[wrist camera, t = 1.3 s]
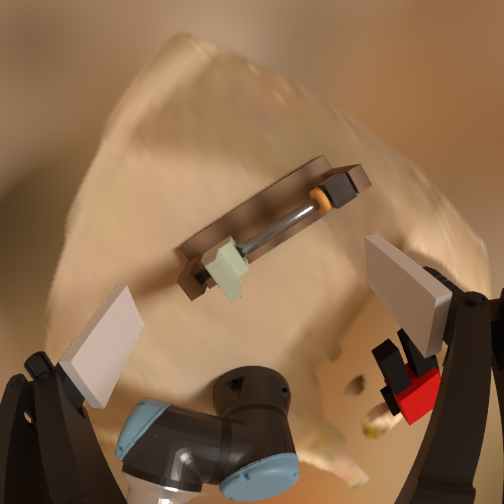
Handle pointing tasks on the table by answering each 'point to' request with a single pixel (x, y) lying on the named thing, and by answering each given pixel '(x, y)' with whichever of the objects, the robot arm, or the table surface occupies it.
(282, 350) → the table surface
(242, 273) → the cream t-shaped block
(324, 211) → the stop band
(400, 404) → the red-and-black block model
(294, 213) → the rod
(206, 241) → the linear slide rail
